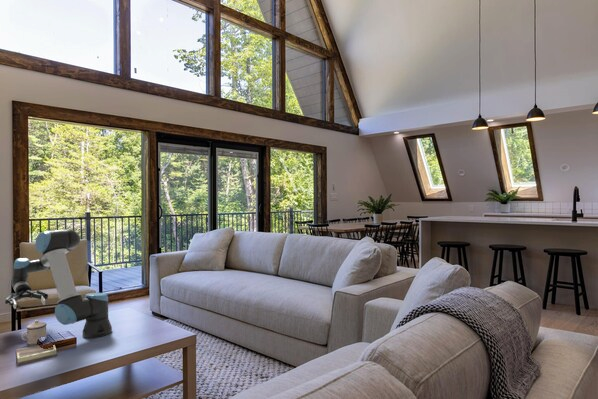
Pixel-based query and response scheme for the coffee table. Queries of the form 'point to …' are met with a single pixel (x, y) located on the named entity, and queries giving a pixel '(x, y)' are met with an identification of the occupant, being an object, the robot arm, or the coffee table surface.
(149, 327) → the coffee table surface
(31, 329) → the teacup with lid
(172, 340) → the coffee table surface
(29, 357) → the brass cradle
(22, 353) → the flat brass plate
